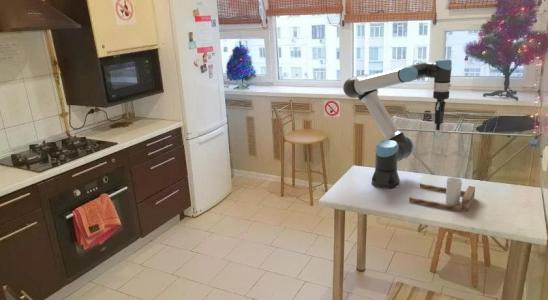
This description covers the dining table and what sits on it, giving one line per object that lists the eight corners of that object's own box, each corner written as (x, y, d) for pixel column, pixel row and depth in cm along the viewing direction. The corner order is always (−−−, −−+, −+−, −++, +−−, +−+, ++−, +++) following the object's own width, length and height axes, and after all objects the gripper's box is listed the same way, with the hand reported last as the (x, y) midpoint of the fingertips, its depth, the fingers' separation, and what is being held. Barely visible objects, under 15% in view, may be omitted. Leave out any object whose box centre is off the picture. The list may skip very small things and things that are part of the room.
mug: (459, 206, 204) (461, 183, 200) (444, 204, 207) (446, 181, 203) (460, 198, 213) (462, 175, 209) (446, 196, 216) (448, 174, 212)
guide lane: (409, 201, 212) (409, 198, 211) (420, 186, 228) (420, 183, 227) (460, 211, 199) (460, 207, 198) (468, 195, 215) (468, 191, 214)
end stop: (460, 210, 201) (461, 198, 199) (466, 196, 214) (467, 185, 212) (468, 211, 199) (469, 200, 197) (474, 197, 212) (475, 186, 210)
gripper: (446, 93, 205) (442, 139, 212) (452, 88, 215) (448, 133, 222) (430, 92, 209) (427, 138, 216) (436, 87, 219) (433, 131, 226)
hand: (437, 135), depth 219 cm, fingers closed
